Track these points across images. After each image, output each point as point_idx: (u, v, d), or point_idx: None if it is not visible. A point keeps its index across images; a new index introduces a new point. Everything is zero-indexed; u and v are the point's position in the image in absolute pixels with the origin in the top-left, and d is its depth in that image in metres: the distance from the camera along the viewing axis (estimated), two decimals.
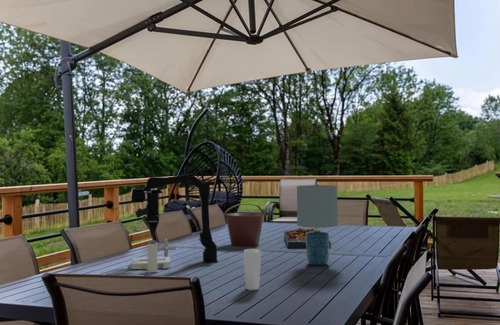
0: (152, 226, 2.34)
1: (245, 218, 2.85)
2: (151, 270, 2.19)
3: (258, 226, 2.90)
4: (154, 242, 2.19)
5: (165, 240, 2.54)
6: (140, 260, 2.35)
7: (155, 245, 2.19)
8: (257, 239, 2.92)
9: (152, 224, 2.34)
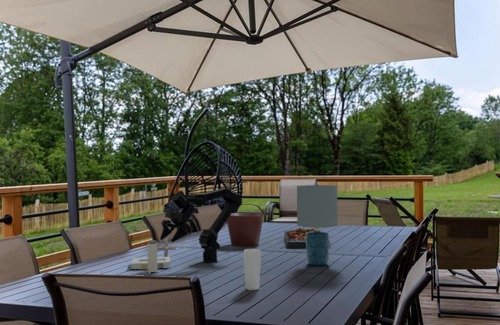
0: (178, 234, 2.24)
1: (245, 218, 2.85)
2: (151, 270, 2.19)
3: (258, 226, 2.90)
4: (154, 242, 2.19)
5: (165, 240, 2.54)
6: (140, 260, 2.35)
7: (155, 245, 2.19)
8: (257, 239, 2.92)
9: (179, 232, 2.25)
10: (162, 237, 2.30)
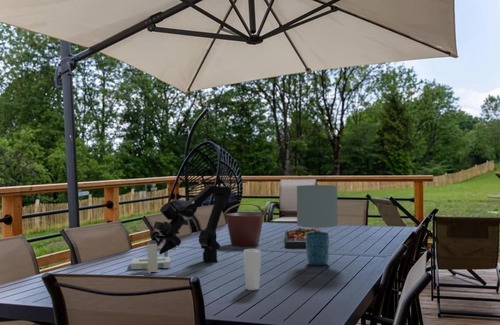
0: (166, 246, 2.19)
1: (245, 218, 2.85)
2: (151, 270, 2.19)
3: (258, 226, 2.90)
4: (154, 242, 2.19)
5: None
6: (140, 260, 2.35)
7: (155, 245, 2.19)
8: (257, 239, 2.92)
9: (168, 244, 2.20)
10: None
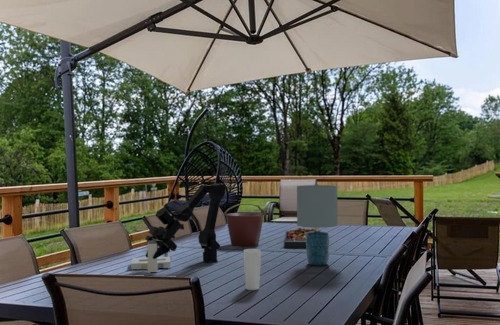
0: (160, 250, 2.19)
1: (245, 218, 2.85)
2: (151, 270, 2.19)
3: (258, 226, 2.90)
4: (154, 242, 2.19)
5: None
6: (140, 260, 2.35)
7: (155, 245, 2.19)
8: (257, 239, 2.92)
9: (161, 249, 2.20)
10: None
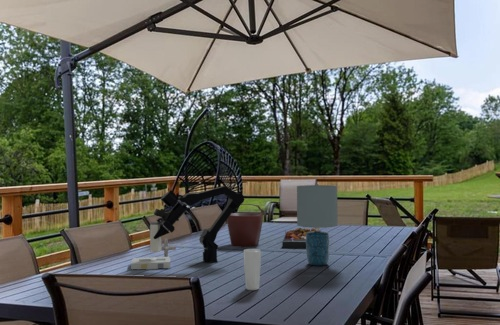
0: (160, 231, 2.32)
1: (245, 218, 2.85)
2: (153, 249, 2.33)
3: (258, 226, 2.90)
4: (156, 223, 2.33)
5: (165, 240, 2.54)
6: (140, 260, 2.35)
7: (156, 226, 2.33)
8: (257, 239, 2.92)
9: (162, 230, 2.32)
10: None
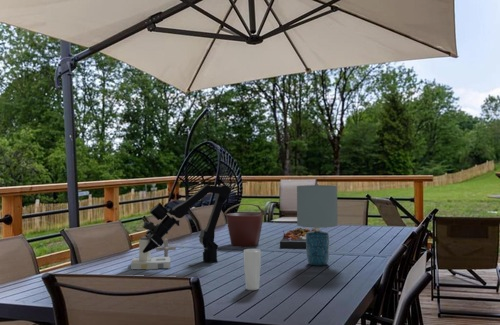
0: (150, 245, 2.28)
1: (245, 218, 2.85)
2: None
3: (258, 226, 2.90)
4: (145, 238, 2.31)
5: (165, 240, 2.54)
6: None
7: (145, 241, 2.31)
8: (257, 239, 2.92)
9: (151, 244, 2.28)
10: None
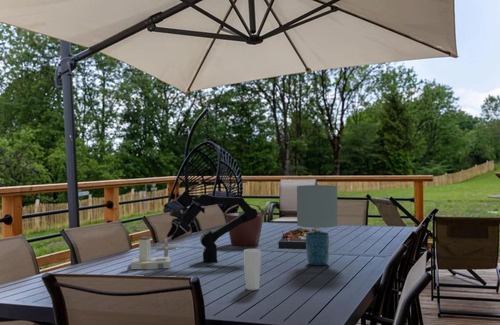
0: (178, 232, 2.34)
1: None
2: None
3: (258, 226, 2.90)
4: (145, 238, 2.31)
5: (165, 240, 2.54)
6: None
7: (145, 241, 2.31)
8: (257, 239, 2.92)
9: (179, 230, 2.34)
10: (169, 234, 2.42)
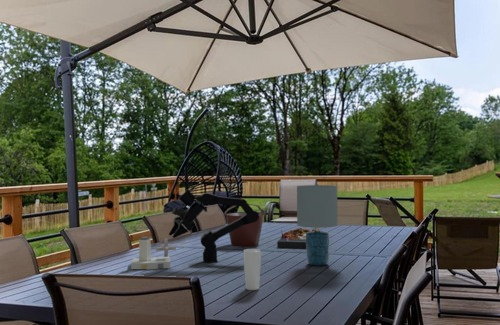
0: (179, 230, 2.35)
1: None
2: None
3: (258, 226, 2.90)
4: (145, 238, 2.31)
5: (165, 240, 2.54)
6: None
7: (145, 241, 2.31)
8: (257, 239, 2.92)
9: (181, 229, 2.35)
10: (171, 233, 2.43)
